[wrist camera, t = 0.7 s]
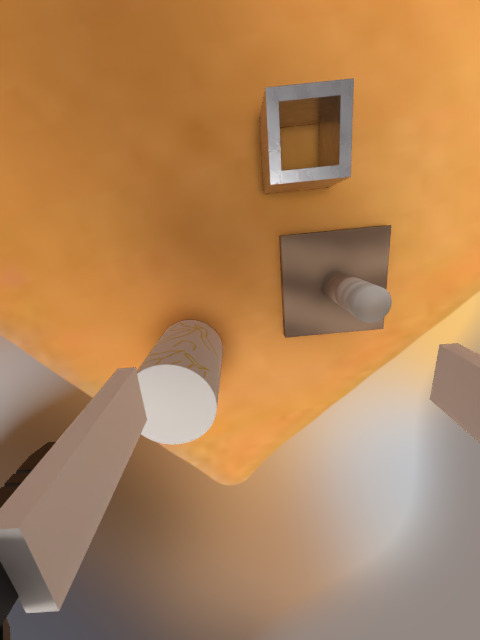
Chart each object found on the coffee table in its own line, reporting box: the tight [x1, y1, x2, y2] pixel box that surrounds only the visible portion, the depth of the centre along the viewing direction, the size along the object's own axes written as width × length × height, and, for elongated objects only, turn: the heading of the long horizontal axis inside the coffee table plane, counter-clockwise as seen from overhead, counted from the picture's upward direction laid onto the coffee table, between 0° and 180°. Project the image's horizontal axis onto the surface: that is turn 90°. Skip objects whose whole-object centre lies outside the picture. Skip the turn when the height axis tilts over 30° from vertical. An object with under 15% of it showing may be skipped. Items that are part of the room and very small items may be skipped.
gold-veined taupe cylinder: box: [137, 320, 223, 444], centre depth 29 cm, size 8×8×12 cm
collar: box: [259, 78, 354, 194], centre depth 25 cm, size 7×7×6 cm
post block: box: [279, 225, 391, 338], centre depth 28 cm, size 12×12×10 cm
